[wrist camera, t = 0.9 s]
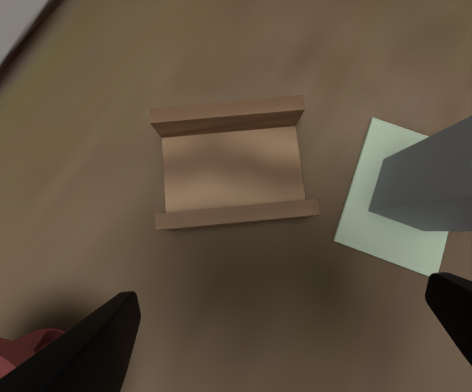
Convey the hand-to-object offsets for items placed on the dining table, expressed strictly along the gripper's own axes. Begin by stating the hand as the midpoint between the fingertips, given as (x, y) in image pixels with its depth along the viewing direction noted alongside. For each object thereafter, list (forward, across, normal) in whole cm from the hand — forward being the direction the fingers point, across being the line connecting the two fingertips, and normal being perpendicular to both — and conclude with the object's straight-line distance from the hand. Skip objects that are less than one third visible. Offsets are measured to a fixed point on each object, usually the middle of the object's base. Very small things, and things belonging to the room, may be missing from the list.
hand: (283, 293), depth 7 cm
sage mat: (+14, -14, +2) cm, 20 cm away
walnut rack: (+16, +1, 0) cm, 16 cm away
